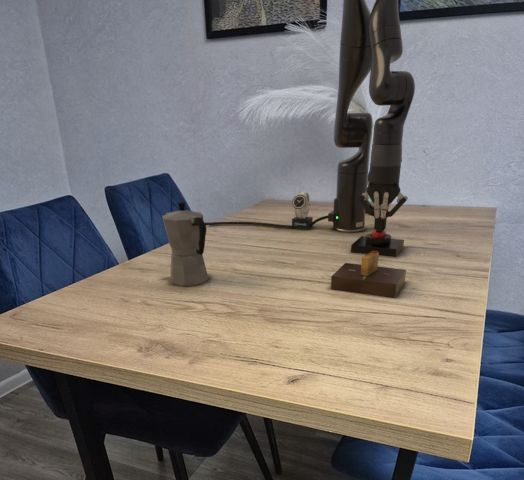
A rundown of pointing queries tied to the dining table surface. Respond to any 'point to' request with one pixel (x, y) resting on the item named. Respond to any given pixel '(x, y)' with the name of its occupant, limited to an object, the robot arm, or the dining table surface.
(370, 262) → the thumbturn
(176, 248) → the coffeepot
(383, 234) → the arm button
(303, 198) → the watch
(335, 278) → the plate
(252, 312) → the dining table surface
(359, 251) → the alarm box
